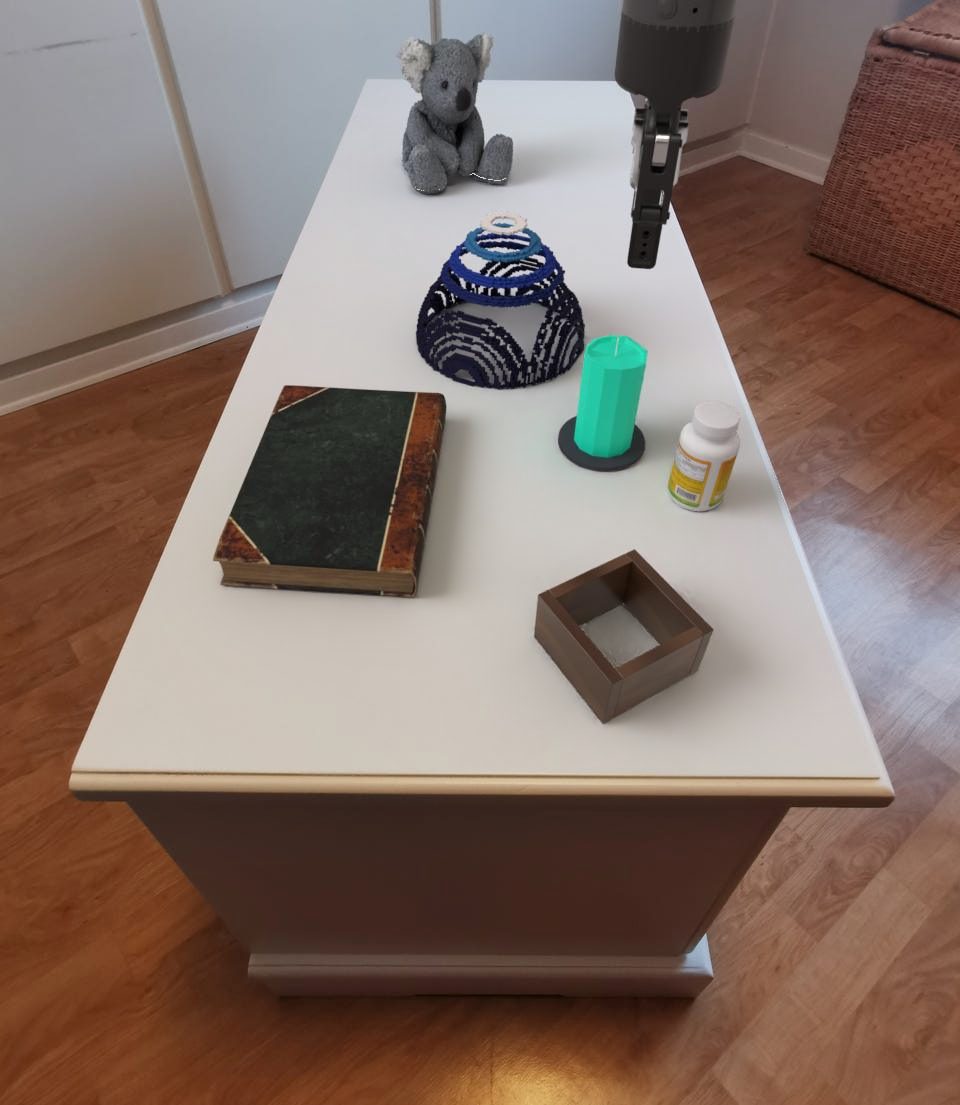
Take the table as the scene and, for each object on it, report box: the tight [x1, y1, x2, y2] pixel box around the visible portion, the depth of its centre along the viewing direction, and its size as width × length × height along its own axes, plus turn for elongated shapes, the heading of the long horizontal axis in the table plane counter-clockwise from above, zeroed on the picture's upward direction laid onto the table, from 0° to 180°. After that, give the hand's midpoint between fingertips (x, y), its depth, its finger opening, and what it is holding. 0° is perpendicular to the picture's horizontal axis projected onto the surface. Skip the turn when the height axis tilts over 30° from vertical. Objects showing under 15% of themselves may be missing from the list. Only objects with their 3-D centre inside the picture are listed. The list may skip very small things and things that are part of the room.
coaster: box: [557, 415, 646, 473], centre depth 81 cm, size 9×9×1 cm
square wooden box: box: [533, 548, 714, 725], centre depth 61 cm, size 10×10×6 cm
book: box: [212, 384, 447, 598], centre depth 74 cm, size 17×4×25 cm
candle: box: [574, 334, 649, 458], centre depth 76 cm, size 6×6×12 cm
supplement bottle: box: [667, 400, 741, 512], centre depth 72 cm, size 5×5×10 cm
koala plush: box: [396, 31, 514, 195], centre depth 120 cm, size 17×18×20 cm
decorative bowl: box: [415, 211, 586, 391], centre depth 88 cm, size 20×20×14 cm
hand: (642, 241), depth 64 cm, fingers open, 8 cm apart
